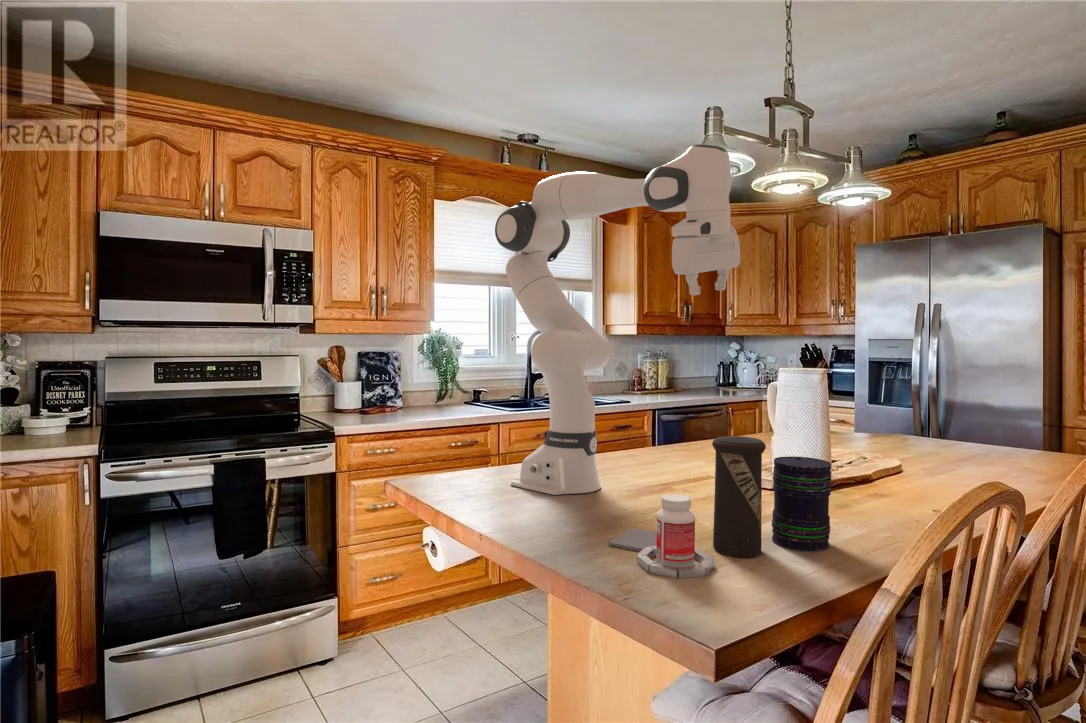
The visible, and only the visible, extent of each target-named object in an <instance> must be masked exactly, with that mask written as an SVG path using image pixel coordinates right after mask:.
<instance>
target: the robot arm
mask: <svg viewBox="0 0 1086 723" xmlns="http://www.w3.org/2000/svg"><path fill="white" fill-rule="evenodd" d="M731 172H732V171H731V161H730V156H729V153H728V150H727V149H726V148H724V147H722V146H718V145H712V144H711V145H710V144H701V143H700V144H693V145H691V146H690V147H688V148H687V149H686V151H685V152H684V153H683V154H681V155H680V156H679V157H676V158H675V159H673V160H671V161H670V162H668V163H665V164H663V165H661V166H657V167H655V168H653V169H652V170H651V171H650V172H649V173H648V174H647V176H646V178H627V177H626V178H625V177H619V176H613V175H609V174H604V173H598V172H590V171H572V172H564V173H561V174H560V173H559V174H557V175H556V174H555V175H552V176H549V177H547V178H545V179H544V178H543V179H541V181H539V182H538V183H537V184H536V185H535V187H534V190H533V193H532V194H533V195H532V200H531V201H530V202H527V201H525V200H521V201H519V202H517V203H516V204H515V205H514V206H511V207H509V208H508V209H505V210H504V211H503V212H502V213H501V214H500V215H498V218H497V219H496V221H495V225H494V235H495V238H496V240H497V242H498V244H499V245H500V246H501V247H503V248H504V249H506V250H509V251H512V252H515V253H514V254H513V255H512V256H511V257H510V258H509V259H508V261H507V262H506V265H505V273H506V277H507V279H508V282H509V285H510V288H511V290H512V293H513V294H514V296H515V298H516V300H517V302H518V303H519V305H520V307H521V309H522V310H523V312H524V315H525V316H526V317H527V319H528V321H529V323H530V324H531V326H532V327H534V329H536V330H537V331H539V332H540V333H541V334H539V335H538V336H536V338H535V339H534V340H533V343H532V345H531V350H530V354H531V359H532V362H533V365H534V366H535V367H536V369H537V370H538V371H539V372H540V373H541V375H542V376H543V378H544V379H543V380H544V382H545V384H546V388H547V392H548V393H547V394H548V398H549V429H548V430H546V431H545V432H542V433H540V435H541V436H540V439H542V438H543V439H544V440H543V444H542V445H540V446H539V447H538V448H537V449H535V450H533V451H532V452H531V453H530V454H529V455H527V456H526V457H525V458H524V459H523V461H522V462H521V466H520V470H519V471H520V473H519V475H517V476H516V477H513V478H512V479H511V481H510V482H511V483H510V485H511V486H513V487H518V488H522V489H526V490H530V491H535V492H539V493H544V494H549V495H555V496H556V495H557V496H559V495H560V496H561V495H568V494H572V495H573V494H585V493H587V494H588V493H592V492H595V491H599V490H600V489H601V484H600V479H599V474H598V469H597V459H596V453H597V444H598V443H597V431H596V428H595V426H596V424H595V422H596V421H595V420H596V416H595V415H596V414H595V413H596V400H595V398H594V396H593V394H591V392H590V391H589V389H588V387H587V386H588V385H587V383H586V379H585V374H591V373H594V372H597V371H599V370H601V369H603V368H604V367H605V366H607V365H608V363H610V360H611V358H612V352H613V350H612V346H611V345H612V344H611V342H610V341H609V339H608V338H607V336H605V335H603V334H602V333H600V332H599V331H597V330H596V329H595V328H594V327H593V326H592V325H591V324H590V322H588V321H587V320H586V319H585V317H584V316H583V315H582V314H581V313H580V312H579V311H578V310H577V309H576V308H575V307H574V306H573V304H571V302H570V301H569V299H568V298H567V295H565V293H564V292H563V290H562V289H561V286H560V285H559V283H558V282H557V280H556V277H555V276H554V275H553V274H552V272H551V269H550V268H549V266H548V263H550V262H553V261H555V260H556V259H558V258H557V257H558V255H559V254H560V253H562V252H563V251H564V250H565V248H566V247H567V245H568V243H569V241H570V237H571V228H570V225H569V223H568V222H567V220H570V221H572V220H574V221H575V220H576V221H577V220H585V219H589V218H595V217H598V216H602V215H605V214H609V213H613V212H618V211H620V210H621V211H622V210H625V209H628V208H637V207H650V208H651V209H653V210H656V211H658V212H662V213H663V212H664V213H667V212H668V213H670V212H671V213H674V212H675V213H676V212H677V213H678V212H686V214H685V215H686V217H685V218H683V219H682V220H681V221H679V222H678V223H676V224H674V225H673V226H672V227H671V236H672V237H674V239H673V240H672V246H671V265H672V266H671V267H672V270H673V273H674V274H675V275H685V281H686V283H687V285H688V288H689V289H688V290H689V291H688V293H689V295H690V296H697V295H698V296H700V295H701V285H699V283H698V278H699V274H700V273H705V272H706V273H707V272H714V271H717V274H718V276H717V279H716V281H714V286H715V287H714V290H716V291H724V290H726V289H727V287H726V285H727V280H728V278H729V275H730V269H732V268H738V267H739V266H740V263H741V246H740V238H739V234H737V229H736V228H735V227H734V225H733V224H731V209H732V208H731V205H730V192H731V188H732V175H731V174H732V173H731Z"/></svg>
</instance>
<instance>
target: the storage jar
mask: <svg viewBox="0 0 1086 723" xmlns="http://www.w3.org/2000/svg"><path fill="white" fill-rule="evenodd" d="M773 465H774V466H773V473H772V481H773V483H772V487H773V492H774V495H773V496H774V500H773V502H774V503H773V510H772V519H771V527H772V528H771V531H772V536H771V541H772V542H773V544H775V545H776V546H778V547H780V548H781V547H782V548H784V549H786V550H791V551H796V552H797V551H798V552H804V553H817V552H818V553H819V552H824V550H825V551H826V550H829V548H830V542H829V540H830V534H831V525H830V524H831V523H830V522H831V520H830V518H831V517H830V515H829V514H830V512H829V511H830V510H829V507H830V506H829V505H830V496H831V493H832V489H831V488H832V487H831V486H832V471H831V469H832V463H831V462H830V461H827V460H826V459H825V460H824V459H820V458H814V457H808V456H807V457H805V456H804V457H803V456H778V457H775V458H774V459H773Z"/></svg>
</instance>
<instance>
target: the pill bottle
mask: <svg viewBox="0 0 1086 723" xmlns="http://www.w3.org/2000/svg"><path fill="white" fill-rule="evenodd" d="M691 499H692V498H691V497H690V496H689V495H684V494H683V495H682V494H664V495H662V496H661V503H660V504H661V507H662V508H661V509H659V510H658V511H657V513H656V530H655V531H656V532H657V537H656V557H655V558H656V563H658V564H663V565H668V566H673V567H688V566H695V560H696V559H695V549H696V547H695V546H696V545H695V544H696V539H695V538H696V516H695V514H694V513H693V511H692V510H690V508H691V506H692V501H691Z"/></svg>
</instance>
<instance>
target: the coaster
mask: <svg viewBox="0 0 1086 723" xmlns="http://www.w3.org/2000/svg"><path fill="white" fill-rule="evenodd" d="M656 537H657V531H656V532H655V531H650V530H644V529H640V528H639V529H638V528H633V527H631V528H628V529H627V530H625V531H624V532H623V533H621V534H620V535H618V536H616V537H615V538H613V539H612V540H611V541H609V542H608V546H609V545H610V546H609V547H612V546H615V547H614V548H618V547H620V548H619V549H623V548H625V549H624V550H628V549H629V550H630V551H633V550H634V551H633V552H638V551H639V552H641V551H642V550H643V549H644V548H646V547H648V546H656ZM639 552H638V553H639Z"/></svg>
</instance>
